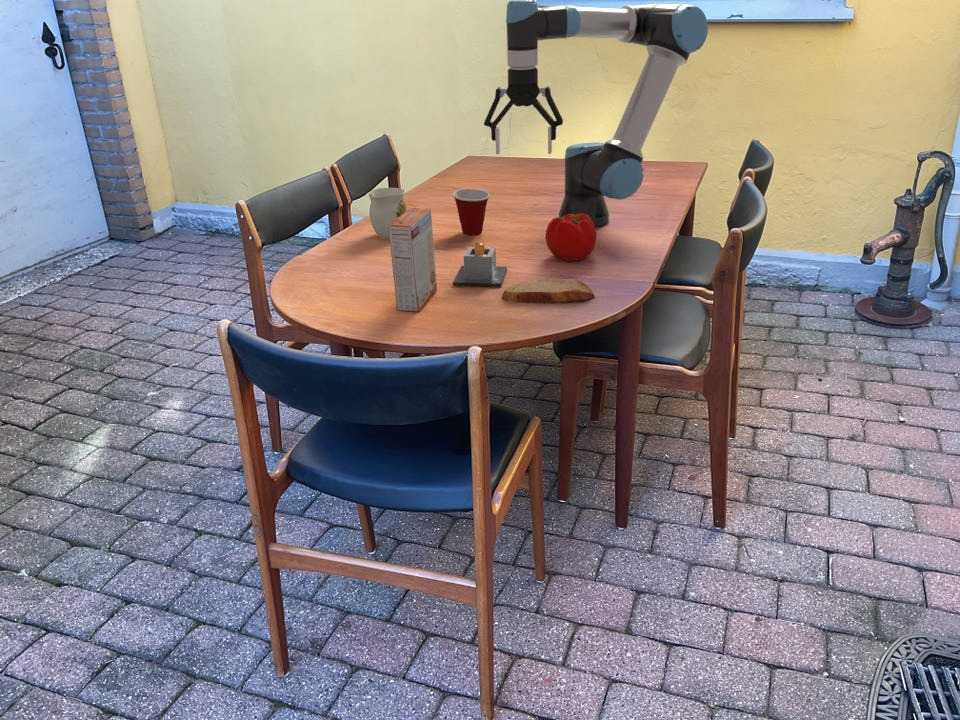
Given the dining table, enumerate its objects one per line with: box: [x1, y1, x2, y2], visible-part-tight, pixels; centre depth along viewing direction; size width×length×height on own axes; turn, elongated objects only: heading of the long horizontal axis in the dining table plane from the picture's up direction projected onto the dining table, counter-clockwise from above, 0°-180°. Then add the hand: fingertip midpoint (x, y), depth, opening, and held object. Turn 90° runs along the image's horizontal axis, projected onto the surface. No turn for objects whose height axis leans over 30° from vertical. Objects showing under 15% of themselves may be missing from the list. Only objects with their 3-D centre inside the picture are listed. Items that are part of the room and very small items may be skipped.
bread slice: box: [501, 278, 596, 304], centre depth 192 cm, size 18×18×4 cm
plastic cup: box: [452, 188, 491, 237], centre depth 237 cm, size 11×11×12 cm
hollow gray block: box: [463, 246, 497, 280], centre depth 204 cm, size 7×7×6 cm
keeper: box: [452, 242, 508, 288], centre depth 203 cm, size 12×12×9 cm
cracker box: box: [388, 207, 438, 313], centre depth 189 cm, size 14×6×21 cm, turn 165°
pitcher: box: [368, 187, 408, 240], centre depth 237 cm, size 11×18×14 cm, turn 163°
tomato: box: [545, 213, 597, 262], centre depth 215 cm, size 13×14×12 cm
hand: (523, 153), depth 212 cm, fingers open, 13 cm apart
